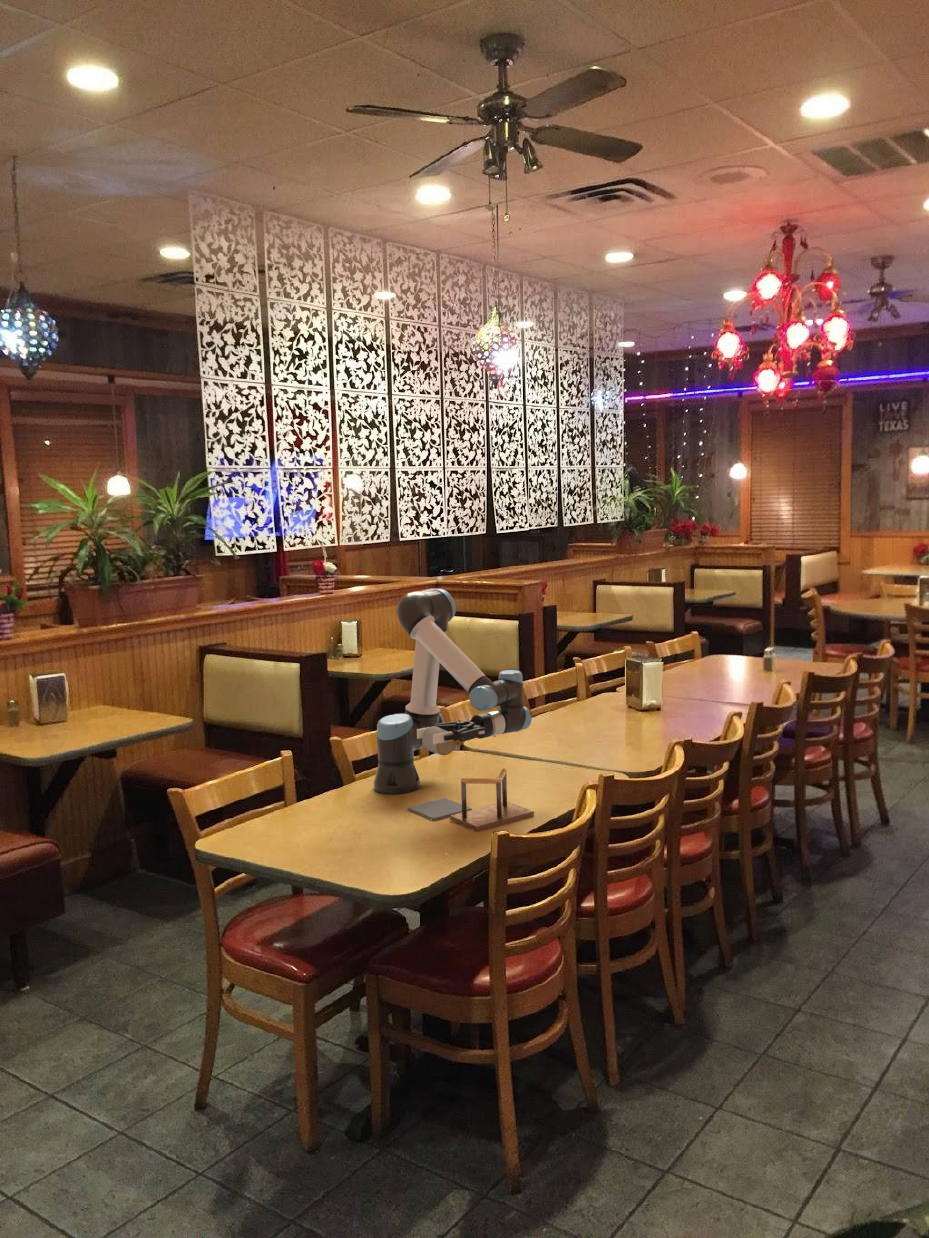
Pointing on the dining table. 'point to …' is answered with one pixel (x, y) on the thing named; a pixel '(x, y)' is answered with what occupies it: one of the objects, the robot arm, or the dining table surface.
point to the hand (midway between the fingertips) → (425, 736)
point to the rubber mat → (438, 809)
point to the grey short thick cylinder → (438, 748)
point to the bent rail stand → (490, 807)
